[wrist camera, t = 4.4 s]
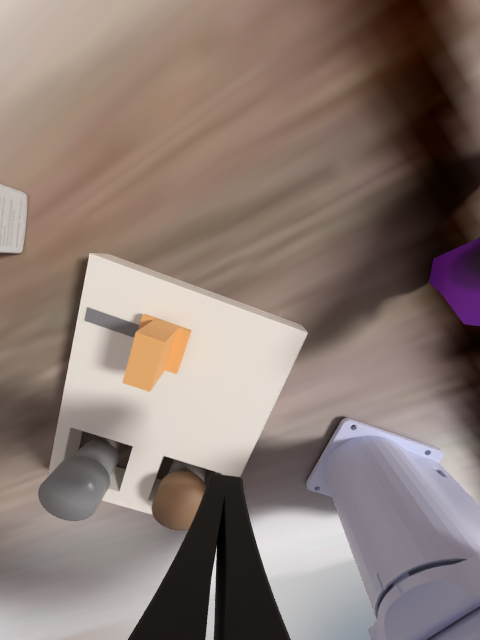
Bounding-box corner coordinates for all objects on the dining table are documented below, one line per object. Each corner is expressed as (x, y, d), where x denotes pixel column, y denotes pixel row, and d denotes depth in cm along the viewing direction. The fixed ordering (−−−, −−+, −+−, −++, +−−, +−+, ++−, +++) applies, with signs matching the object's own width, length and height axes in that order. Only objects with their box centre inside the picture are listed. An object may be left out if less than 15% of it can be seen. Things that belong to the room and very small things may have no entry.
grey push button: (128, 444, 19) (102, 486, 15) (117, 480, 20) (91, 527, 16) (80, 429, 19) (42, 468, 15) (71, 466, 20) (34, 511, 16)
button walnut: (216, 458, 21) (211, 499, 17) (203, 491, 22) (195, 535, 18) (173, 445, 20) (159, 484, 17) (161, 478, 21) (145, 521, 18)
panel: (301, 324, 18) (308, 333, 16) (216, 508, 23) (213, 533, 21) (107, 253, 16) (89, 253, 14) (63, 463, 21) (45, 484, 19)
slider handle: (191, 330, 15) (179, 347, 12) (178, 371, 16) (163, 396, 13) (144, 313, 15) (120, 326, 12) (133, 356, 16) (108, 378, 13)
